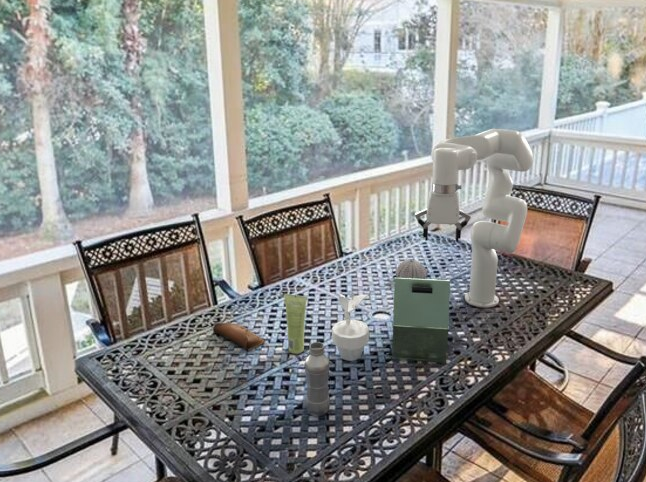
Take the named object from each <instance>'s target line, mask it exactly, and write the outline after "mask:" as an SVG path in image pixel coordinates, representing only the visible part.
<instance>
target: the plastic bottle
mask: <svg viewBox="0 0 646 482" xmlns="http://www.w3.org/2000/svg"><path fill="white" fill-rule="evenodd" d="M325 350H326V349H325V345H324V343H322V342H320V341H313V342H312V343H310V344H309V352H308V353H309V355H307V357H306V359H305V361H304V371H305V376H306V386H307V387H306V396H305V401H304V406H305V410H306V412H307V413H308V414H309V415H310V416H313V417H322V416H325V415H326V414H327V413H328V412H329V410H330V408H331V399H330V394H329V393H330V392H329V373H330V369H331V368H330V367H331V362H330V358H329V357H328V356H327V355H326V354H325V352H326V351H325Z"/></svg>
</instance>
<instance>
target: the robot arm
mask: <svg viewBox="0 0 646 482" xmlns="http://www.w3.org/2000/svg"><path fill="white" fill-rule="evenodd" d="M430 154H431V156H430V157H431V160H432V174H431V175H432V178H431V190H429V191H428V195H427V201H426V208H425V209H422V210H420V211H418V212H416V213H414V217H415V219H416V221H417V223H418V225H420V226H421V228H422V229H423V230H422V238H424V241H426V242H427V241H428V238H429V226H430V225H431V224H432V225H433V224H434V225H454V226H455V239H454V240H455V242H456V243H459V239H460V240H461V237H462V236H461V235H462V230H463V228H465V227H466V226H467V225H468V223H469V222H470V221H471V219H472V217H471V214H469V213H467V212H465V211H463V210H461V209H460V193H459V191H458V190H462V184H458V182H457V181H458V171H464V170H465V171H466V170H469V169H471V168H473V167H474V166H475V164H476V163H477V161H480V160H485V163H486V166H487V169H488V173H489V182H488V186H487V189H486V193H485V196H484V199H483V204H482V208H481V209H482V211H481V212H482V215H483V216H484V217H486V218H488V219H491V220H495V221H499V222H504V223H507V225H505V224H501V223H497V222H492V221H487V220H478V221H476V222H474V223H473V224H472V226H471V229H470V243H471V263H470V279H469V290H468V291H469V292H466V293H465V294H464V300H465V302H466V303H467V304H469V305H470V306H474V307H477V308H493V307H496V306H497V305H498V304H499V301H500V299H499V297H498V296H497V295H496V286H497V274H498V265H499V258H498V254H497V252H496V251H498V252H503V253H508V254H512V253H514V252H516V250H517V248H519V247H518V246H519V244H520V240H521V237H522V235H523V230H524V227H525V223H526V219H527V216H528V204H527V202H526V201H525V200H524V199H523V198H520V197H517V196H512V190H513V187H514V182H513V179H512V176H511V174H510V173H509V171H512V172H513V171H514V172H521V173H523V172H527V171H529V170H530V169H531V168H532V166H533V163H534V154H533V151H532V149H531V146H530V145H529V143H528V141H527V139H526V136H524V134H522V132H520V131H518V130H512V129H503V128H490V129H488V130H485V131H482V132H480V133H477V134H473V135H465V136H458V137H451V138H446V139H443V140H441V141H439V142H437V143H436V144H435V145H434V146H433V147H432V150H431V153H430ZM424 215H425V216H426V220H425V221H424V220H423V219H422V218H421V217H422V216H424ZM460 217H462V218H464V219H463V220H462V221H461V222H460Z"/></svg>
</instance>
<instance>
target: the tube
mask: <svg viewBox="0 0 646 482" xmlns="http://www.w3.org/2000/svg"><path fill="white" fill-rule="evenodd" d="M283 297H284V305H285V313H286V325H287V344H288V346H287V347H288V352H289V353H291V354H296V355H297V354H301V353H303V352H304V350H305V324H306V323H305V321H306V307H307V300H308V297H307V296H305V295H303V296H302V295H297V294H290V293H284V294H283Z"/></svg>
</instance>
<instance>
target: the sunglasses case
mask: <svg viewBox="0 0 646 482" xmlns="http://www.w3.org/2000/svg"><path fill="white" fill-rule="evenodd" d="M212 332H214V333H215V334H217V335H219V336H222V337H223V338H226V339H228V340H229V341H231V342H233V343H235V344H236V345H238V346H239V347H242V348H243V349H245V350H247V351H249V352H250V351H253V350H254V349H256V348H258V347H260V346H261V345H262V344H264V343H265V342H266V340H265V339H263V338H262V337H261V336H259V335H258V334H256V333H254V332H253V331H251V330H249V329H248V328H247V327H245V326H243V325H241V324H240V325H239V324H237V323H228V322H217V323H215V324H214V325H213V327H212Z"/></svg>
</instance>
